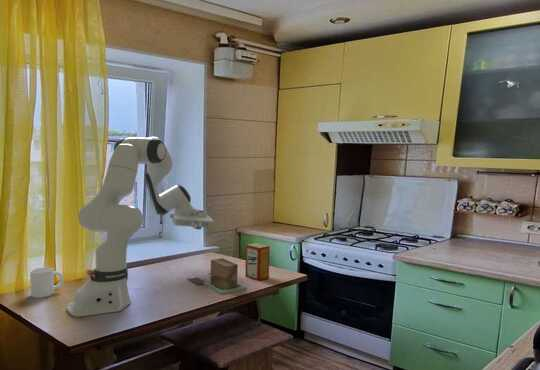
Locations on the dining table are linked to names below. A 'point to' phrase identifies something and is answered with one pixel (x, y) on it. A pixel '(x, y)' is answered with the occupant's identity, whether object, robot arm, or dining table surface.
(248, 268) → the baking soda box
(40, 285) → the mug
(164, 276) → the dining table surface
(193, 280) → the trap mat left
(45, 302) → the dining table surface
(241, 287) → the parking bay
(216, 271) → the walnut block
